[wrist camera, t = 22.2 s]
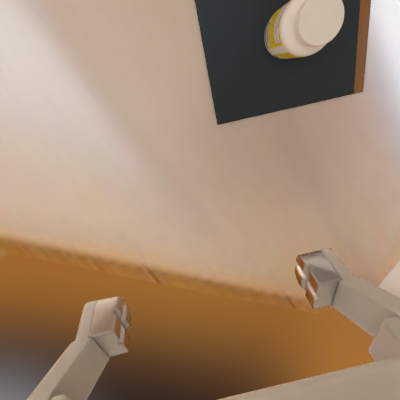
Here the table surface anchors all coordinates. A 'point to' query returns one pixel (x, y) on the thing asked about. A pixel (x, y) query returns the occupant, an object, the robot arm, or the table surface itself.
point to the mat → (276, 59)
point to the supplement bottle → (303, 27)
